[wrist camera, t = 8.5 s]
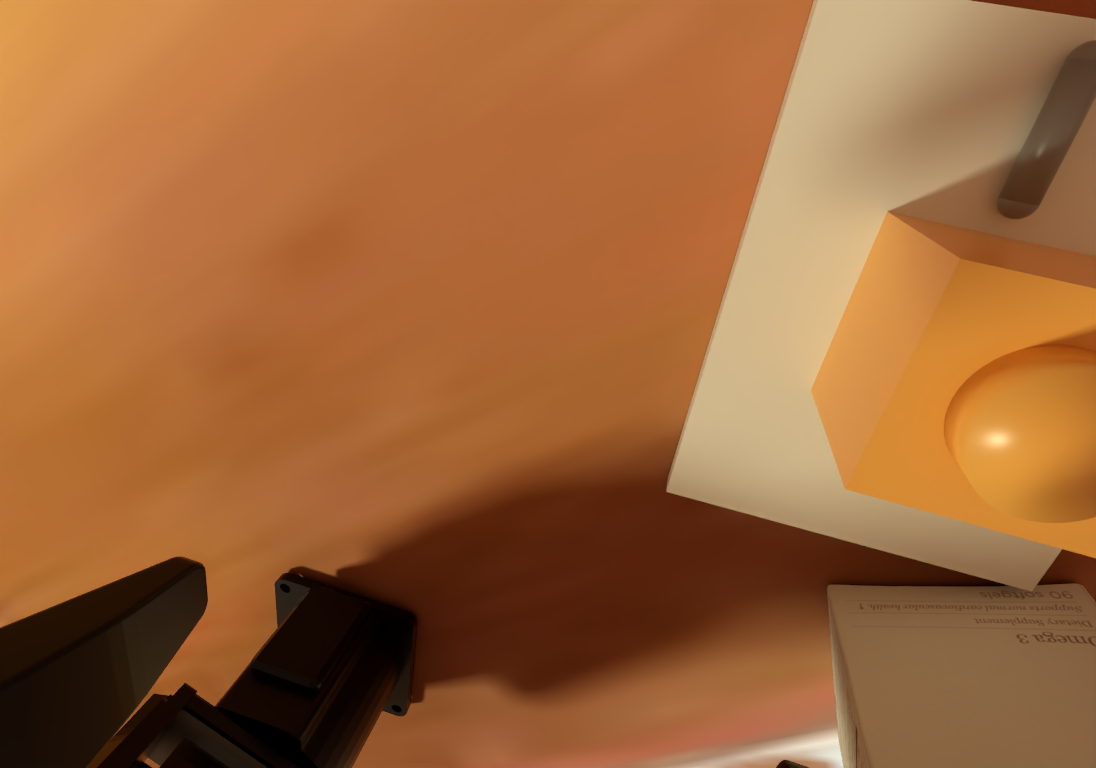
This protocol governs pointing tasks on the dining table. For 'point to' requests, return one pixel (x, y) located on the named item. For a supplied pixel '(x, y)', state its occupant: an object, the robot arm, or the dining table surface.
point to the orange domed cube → (969, 381)
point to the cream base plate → (852, 226)
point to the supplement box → (964, 676)
